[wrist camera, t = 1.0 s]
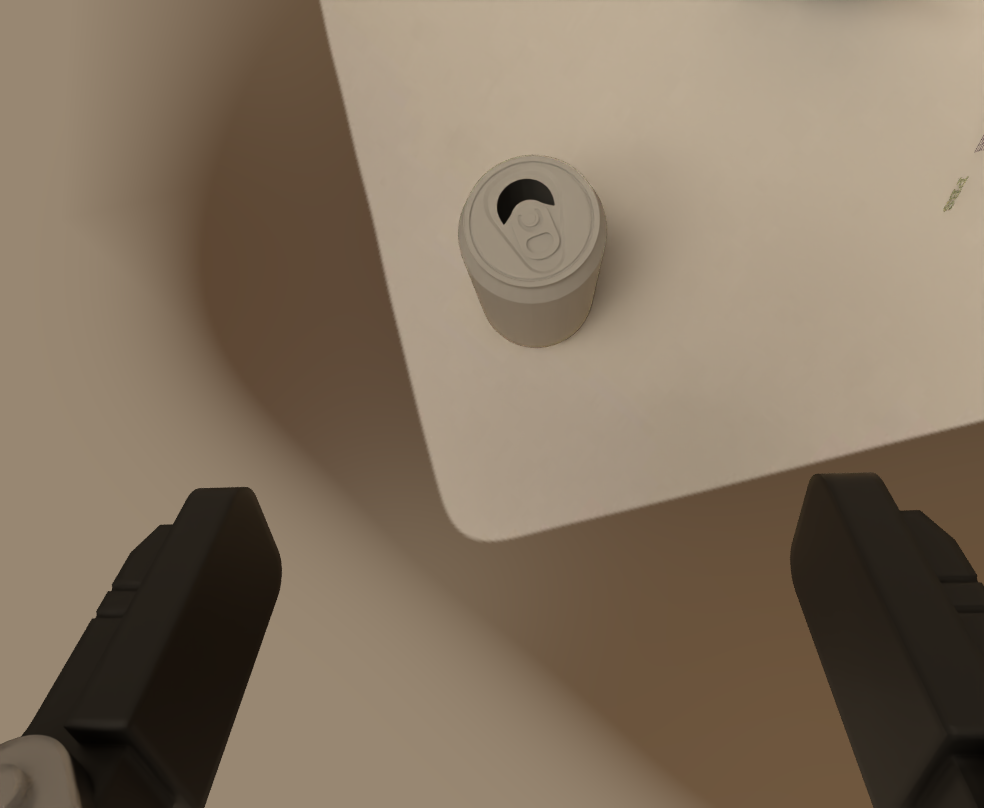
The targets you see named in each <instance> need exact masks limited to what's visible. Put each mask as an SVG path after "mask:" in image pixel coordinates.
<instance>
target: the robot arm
mask: <svg viewBox="0 0 984 808" xmlns="http://www.w3.org/2000/svg"><path fill="white" fill-rule="evenodd" d="M790 562H791V563H790V564H791V574H792V579H793V584H794V588H795V591H796V594H797V597H798V599H799V602H800V605H801V608H802V610H803V613H804V616H805V619H806V622H807V624H808V627H809V630H810V633H811V635H812V638H813V641H814V644H815V646H816V649H817V652H818V655H819V658H820V660H821V663H822V666H823V668H824V671H825V674H826V677H827V680H828V683H829V685H830V688H831V691H832V694H833V696H834V699H835V702H836V705H837V708H838V710H839V713H840V716H841V719H842V721H843V724H844V727H845V730H846V732H847V735H848V738H849V740H850V743H851V746H852V749H853V752H854V755H855V757H856V760H857V763H858V766H859V768H860V771H861V774H862V777H863V780H864V782H865V785H866V787H867V790H868V793H869V796H870V799H871V802H872V805H873V807H874V808H984V586H983V584H982V583H979V582H978V581H977V574H976V573H975V571H974V569H973V568H972V566H971V565H970V563H969V561H968V560H967V558H966V557H965V555H964V553H963V552H962V550H961V549H960V547H959V545H958V544H957V542H956V541H955V540H954V539H953V538H952V537H951V536H950V535H948V534H947V533H946V532H945V531H944V530H943V529H941V528H940V527H939V526H938V525H937V524H936V523H934V522H933V521H932V520H931V519H929V518H928V517H927V516H926V515H925V514H924V513H923V512H921V511H920V510H910V511H900V510H899V509H898V507H897V505H896V503H895V502H894V500H893V498H892V496H891V495H890V493H889V491H888V489H887V487H886V486H885V484H884V482H883V481H882V479H881V478H880V477H879V476H878V475H877V474H875V473H871V472H870V473H832V474H815V475H813V476H812V478H811V479H810V481H809V484H808V487H807V491H806V495H805V498H804V502H803V506H802V509H801V513H800V516H799V520H798V524H797V528H796V531H795V535H794V538H793V542H792V546H791V555H790ZM281 577H282V566H281V558H280V554H279V551H278V548H277V546H276V544H275V541H274V539H273V536H272V534H271V532H270V529H269V527H268V524H267V522H266V519H265V517H264V514H263V512H262V510H261V507H260V505H259V502H258V500H257V497H256V495H255V493H254V492H253V491H252V490H251V489H250V488H248V487H235V488H234V487H231V488H199V489H195V490H194V491H193V492H192V493H191V494H190V495H189V496H188V498H187V500H186V501H185V504H184V505H183V507H182V509H181V511H180V513H179V514H178V516H177V518H176V520H175V522H174V523H173V525H159V526H158V527H157V528H156V529H155V530H154V531H153V532H152V533H151V534H150V535H149V536H148V537H147V538H146V539H145V540H144V541H143V542H141V544H139V545H138V546H137V547H136V548H135V549H134V550H133V551H132V552H131V553H130V555H129V556H128V558H127V560H126V561H125V563H124V565H123V567H122V568H121V570H120V572H119V574H118V575H117V577H116V579H115V580H114V582H113V584H112V591H108V592H107V594H106V596H105V597H104V599H103V601H102V602H101V604H100V606H99V608H98V609H97V611H96V612H97V616H96V618H95V619H92V620H91V621H90V623H89V625H88V626H87V628H86V630H85V632H84V634H83V635H82V637H81V638H80V640H79V642H78V644H77V645H76V647H75V649H74V651H73V652H72V654H71V656H70V657H69V659H68V661H67V662H66V664H65V666H64V668H63V669H62V671H61V673H60V675H59V676H58V678H57V680H56V681H55V683H54V685H53V686H52V688H51V690H50V692H49V693H48V695H47V697H46V698H45V700H44V702H43V704H42V705H41V707H40V709H39V710H38V712H37V714H36V716H35V717H34V719H33V720H32V722H31V724H30V725H29V727H28V728H27V730H26V731H25V732H24V733H23V735H22V736H21V737H18V738H15V739H12V740H9V741H7V742H4V743H2V744H0V808H204V807H205V804H206V801H207V798H208V795H209V792H210V790H211V787H212V784H213V781H214V778H215V775H216V772H217V770H218V766H219V764H220V761H221V758H222V755H223V752H224V749H225V746H226V744H227V741H228V737H229V735H230V732H231V729H232V726H233V723H234V721H235V718H236V715H237V712H238V709H239V706H240V704H241V701H242V698H243V695H244V692H245V689H246V686H247V683H248V681H249V678H250V675H251V672H252V669H253V666H254V663H255V660H256V658H257V655H258V651H259V649H260V646H261V643H262V640H263V637H264V635H265V632H266V629H267V626H268V623H269V620H270V617H271V615H272V612H273V609H274V606H275V603H276V600H277V597H278V594H279V590H280V585H281Z"/></svg>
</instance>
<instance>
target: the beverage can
mask: <svg viewBox="0 0 984 808" xmlns="http://www.w3.org/2000/svg"><path fill="white" fill-rule="evenodd" d="M606 238H607V222H606V216H605V212H604V209H603V206H602V203H601V201H600V199H599V197H598V195H597V194H596V192H595V191H594V189H593V188H592V187H591V186H590V184H589V183H588V181H587V180H586V179H585V178H584V176H583V175H582V174H581V173H579V172H578V171H577V170H576V169H575V168H573V167H572V166H570V165H569V164H567V163H565V162H563V161H561V160H558V159H556V158H552V157H547V156H540V155H525V156H519V157H515V158H511V159H508V160H506V161H504V162H502V163H500V164H498V165H496V166H495V167H493V168H492V169H490V170H489V171H488V172H487V173H485V174H484V175H483V176H482V177H481V178H480V180H479V181H478V182H477V183H476V185H475V186H474V188H473V189H472V191H471V193H470V195H469V197H468V199H467V201H466V203H465V205H464V207H463V210H462V213H461V217H460V221H459V229H458V239H459V247H460V251H461V255H462V258H463V260H464V263H465V265H466V268H467V270H468V273H469V275H470V278H471V281H472V283H473V286H474V288H475V291H476V293H477V296H478V298H479V301H480V303H481V306H482V308H483V311H484V313H485V315H486V317H487V319H488V321H489V323H490V324H491V325H492V327H493V328H494V329H495V330H496V331H497V332H498V333H499V334H500V335H501V336H503V337H504V338H505V339H507V340H509V341H511V342H513V343H515V344H518V345H521V346H525V347H533V348H540V347H548V346H551V345H555V344H558V343H560V342H562V341H564V340H566V339H567V338H569V337H570V336H571V335H573V334H574V333H575V332H576V331H577V330H578V329H579V328H580V327H581V325H582V324H583V323H584V321H585V319H586V318H587V316H588V314H589V311H590V308H591V305H592V301H593V296H594V292H595V288H596V283H597V279H598V275H599V270H600V266H601V262H602V257H603V253H604V249H605V244H606Z"/></svg>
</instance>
